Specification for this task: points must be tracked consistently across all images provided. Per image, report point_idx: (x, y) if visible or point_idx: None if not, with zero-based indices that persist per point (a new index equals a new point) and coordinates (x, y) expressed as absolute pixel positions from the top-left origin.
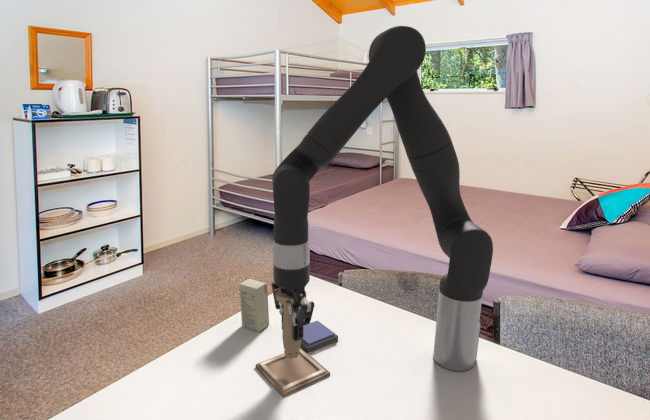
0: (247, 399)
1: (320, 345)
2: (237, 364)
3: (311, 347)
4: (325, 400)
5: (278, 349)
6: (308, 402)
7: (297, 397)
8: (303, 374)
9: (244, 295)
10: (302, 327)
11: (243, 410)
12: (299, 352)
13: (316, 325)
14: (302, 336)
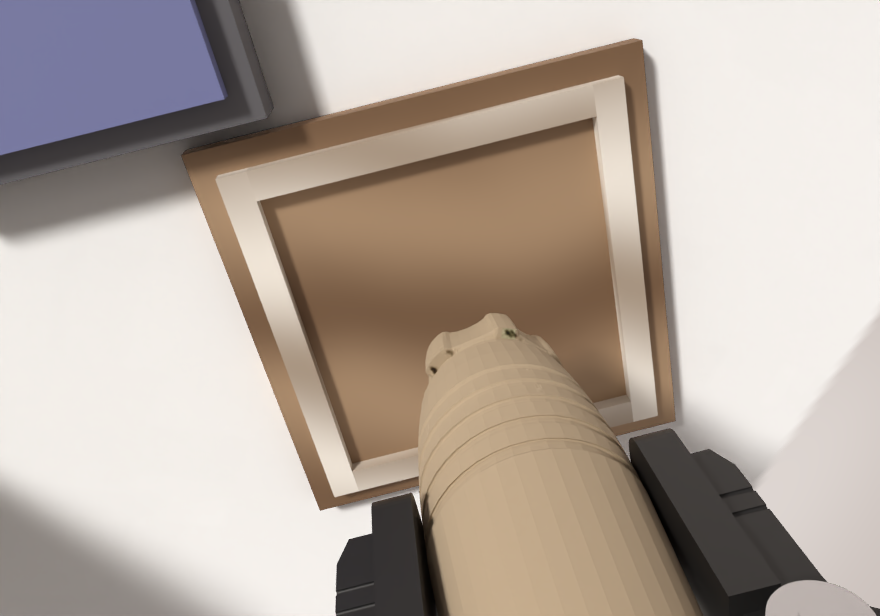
0: None
1: None
2: (257, 582)
3: (255, 74)
4: (842, 183)
5: (144, 323)
6: (793, 289)
7: (718, 336)
8: (560, 250)
9: None
10: (806, 570)
11: None
12: (510, 319)
13: None
14: (728, 471)
